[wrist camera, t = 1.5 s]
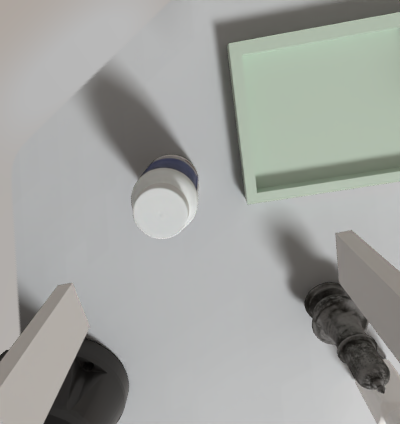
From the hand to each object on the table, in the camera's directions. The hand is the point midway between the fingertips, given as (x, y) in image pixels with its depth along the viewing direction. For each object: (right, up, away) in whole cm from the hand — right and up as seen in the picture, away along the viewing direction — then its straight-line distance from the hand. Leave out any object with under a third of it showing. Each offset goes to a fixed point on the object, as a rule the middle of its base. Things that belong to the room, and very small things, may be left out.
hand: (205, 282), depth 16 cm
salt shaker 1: (+15, -7, +21) cm, 27 cm away
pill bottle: (-3, +7, +16) cm, 18 cm away
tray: (+14, +13, +14) cm, 23 cm away
